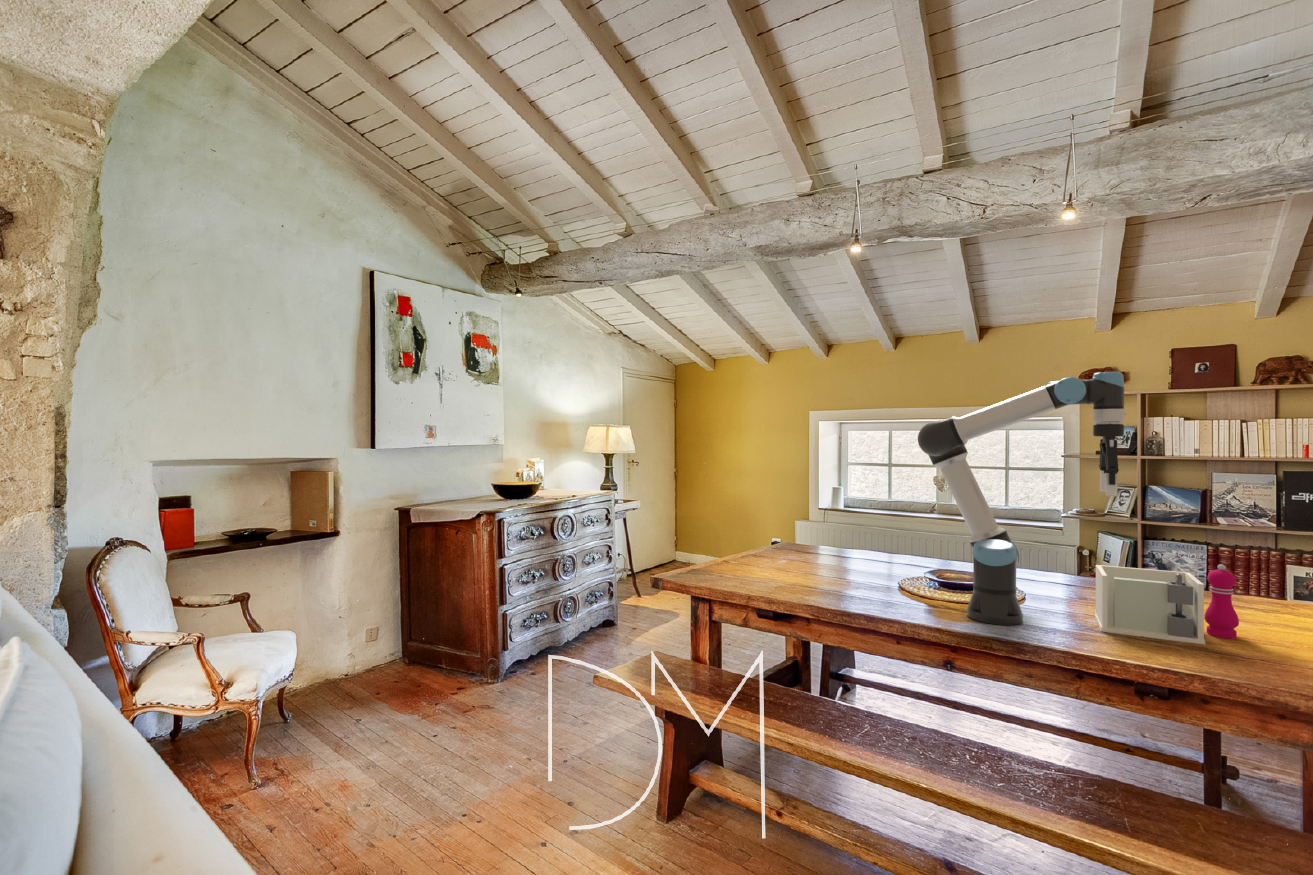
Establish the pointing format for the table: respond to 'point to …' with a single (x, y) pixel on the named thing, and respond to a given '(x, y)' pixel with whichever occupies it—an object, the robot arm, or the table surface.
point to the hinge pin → (1179, 606)
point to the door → (1151, 606)
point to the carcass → (1194, 611)
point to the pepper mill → (1221, 604)
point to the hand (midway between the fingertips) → (1108, 493)
